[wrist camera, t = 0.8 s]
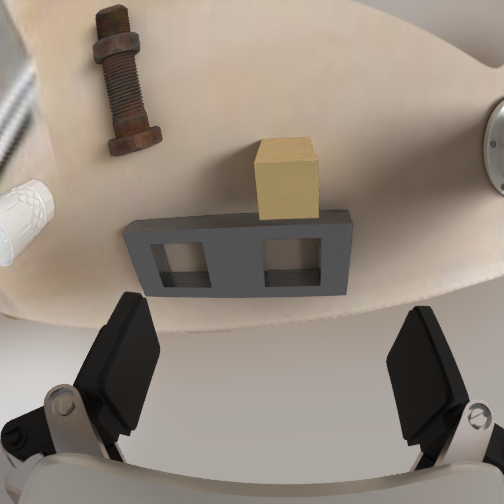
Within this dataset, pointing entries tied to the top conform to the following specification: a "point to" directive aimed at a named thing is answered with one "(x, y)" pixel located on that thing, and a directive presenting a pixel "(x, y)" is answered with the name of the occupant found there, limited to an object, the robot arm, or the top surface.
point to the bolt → (123, 82)
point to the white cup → (23, 217)
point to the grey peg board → (240, 255)
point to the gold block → (287, 179)
